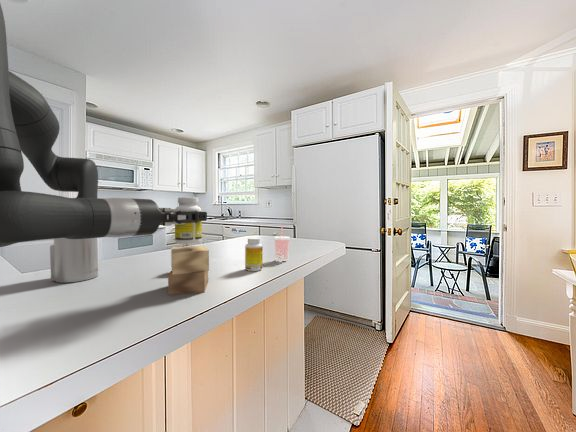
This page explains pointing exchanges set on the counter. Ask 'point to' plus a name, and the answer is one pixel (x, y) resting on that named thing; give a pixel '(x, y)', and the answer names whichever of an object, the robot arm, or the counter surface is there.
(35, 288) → the counter surface
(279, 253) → the beverage cup
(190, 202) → the pill bottle
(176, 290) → the lower block
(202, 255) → the upper block
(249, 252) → the supplement bottle
